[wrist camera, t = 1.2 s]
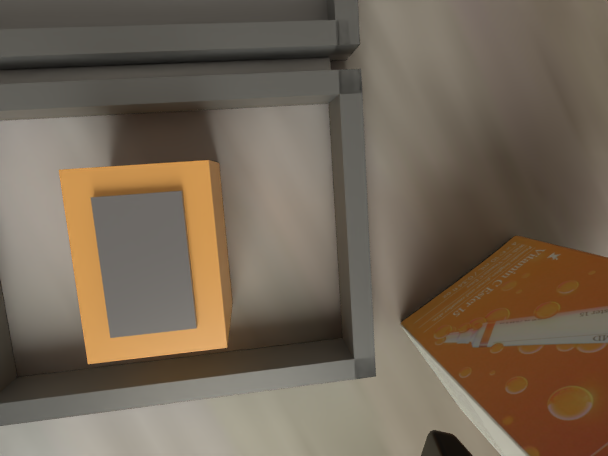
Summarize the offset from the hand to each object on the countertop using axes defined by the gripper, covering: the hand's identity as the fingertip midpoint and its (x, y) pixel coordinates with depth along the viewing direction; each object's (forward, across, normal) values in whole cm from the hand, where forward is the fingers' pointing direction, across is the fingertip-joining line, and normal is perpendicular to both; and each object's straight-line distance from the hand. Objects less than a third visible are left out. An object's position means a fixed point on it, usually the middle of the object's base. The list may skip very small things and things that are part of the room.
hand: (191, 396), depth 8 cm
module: (+12, +5, +2) cm, 13 cm away
